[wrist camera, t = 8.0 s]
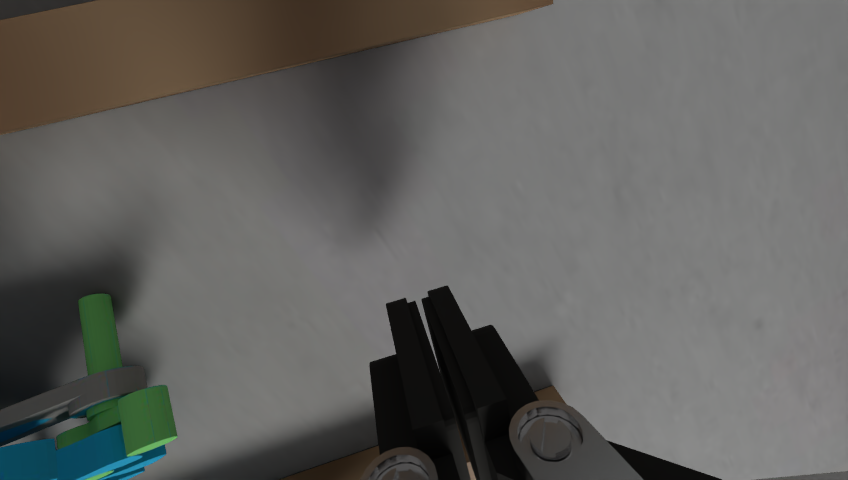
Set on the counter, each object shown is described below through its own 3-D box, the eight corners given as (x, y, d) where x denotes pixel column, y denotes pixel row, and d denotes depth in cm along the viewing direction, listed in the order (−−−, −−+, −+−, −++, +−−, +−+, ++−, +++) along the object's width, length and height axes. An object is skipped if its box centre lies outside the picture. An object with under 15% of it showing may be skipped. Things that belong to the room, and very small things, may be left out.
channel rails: (509, -64, 10) (546, -92, 9) (555, 414, 18) (581, 453, 16) (-576, 165, 8) (-847, 193, 6) (9, 607, 15) (-34, 678, 14)
